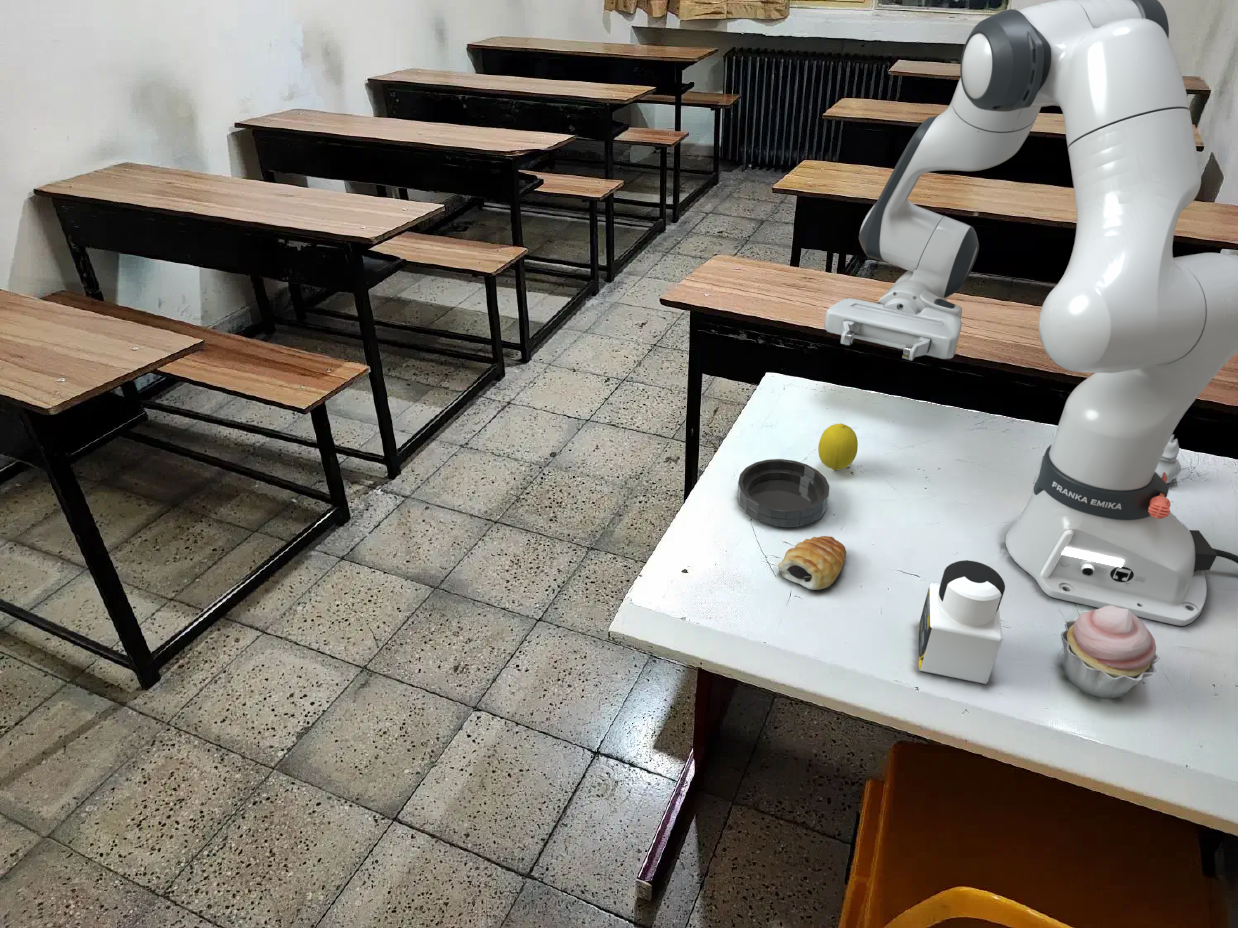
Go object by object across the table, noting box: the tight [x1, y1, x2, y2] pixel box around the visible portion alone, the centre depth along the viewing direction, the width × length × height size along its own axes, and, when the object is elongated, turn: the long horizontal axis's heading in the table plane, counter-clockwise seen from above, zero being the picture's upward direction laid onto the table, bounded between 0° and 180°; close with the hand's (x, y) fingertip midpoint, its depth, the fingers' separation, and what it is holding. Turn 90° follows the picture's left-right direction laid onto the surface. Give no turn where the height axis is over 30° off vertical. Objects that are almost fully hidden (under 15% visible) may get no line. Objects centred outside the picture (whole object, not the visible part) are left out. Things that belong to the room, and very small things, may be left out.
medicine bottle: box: [918, 560, 1006, 685], centre depth 88 cm, size 7×7×12 cm
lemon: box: [817, 422, 859, 472], centre depth 120 cm, size 6×6×8 cm
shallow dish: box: [736, 458, 830, 528], centre depth 115 cm, size 12×12×3 cm
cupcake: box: [1060, 605, 1161, 700], centre depth 86 cm, size 9×9×10 cm
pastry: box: [777, 535, 847, 591], centre depth 103 cm, size 9×7×4 cm
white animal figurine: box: [1155, 433, 1182, 484], centre depth 117 cm, size 5×7×8 cm
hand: (876, 347), depth 122 cm, fingers open, 8 cm apart
